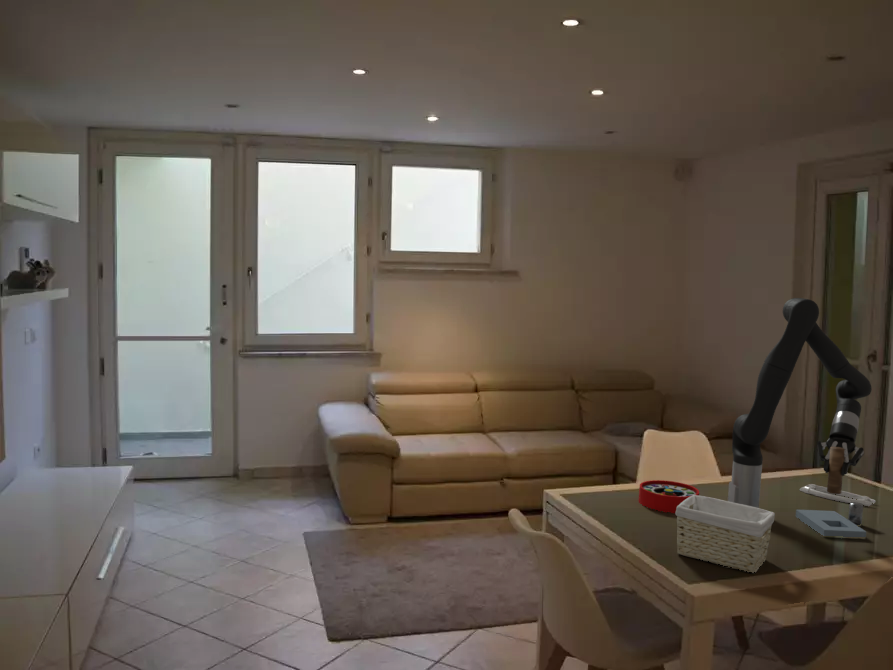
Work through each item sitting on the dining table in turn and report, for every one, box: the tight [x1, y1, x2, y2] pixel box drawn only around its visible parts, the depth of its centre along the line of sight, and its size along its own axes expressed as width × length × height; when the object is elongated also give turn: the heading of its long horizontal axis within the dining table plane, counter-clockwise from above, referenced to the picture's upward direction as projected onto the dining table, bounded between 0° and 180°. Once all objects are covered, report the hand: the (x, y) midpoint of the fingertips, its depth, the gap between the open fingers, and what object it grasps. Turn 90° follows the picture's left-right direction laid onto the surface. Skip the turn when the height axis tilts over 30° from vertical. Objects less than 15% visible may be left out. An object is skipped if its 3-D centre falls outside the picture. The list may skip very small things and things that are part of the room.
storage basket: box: [674, 495, 776, 574], centre depth 221 cm, size 24×16×15 cm
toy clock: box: [638, 479, 700, 514], centre depth 270 cm, size 20×6×20 cm
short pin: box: [847, 502, 864, 525], centre depth 256 cm, size 4×4×7 cm
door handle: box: [799, 483, 877, 507], centre depth 286 cm, size 3×10×25 cm
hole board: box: [795, 509, 867, 538], centre depth 252 cm, size 13×20×2 cm, turn 0°
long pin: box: [826, 447, 845, 495], centre depth 243 cm, size 4×4×14 cm
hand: (834, 472), depth 242 cm, fingers closed on long pin, 4 cm apart
